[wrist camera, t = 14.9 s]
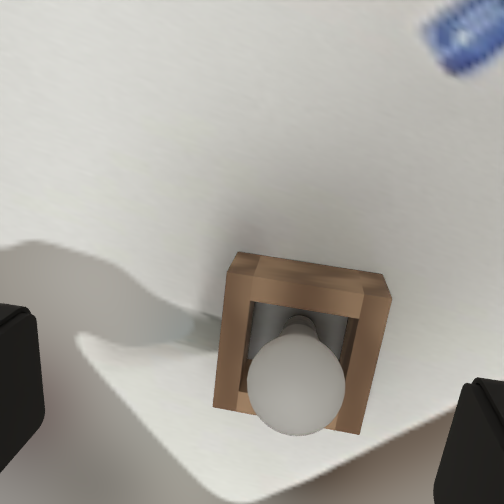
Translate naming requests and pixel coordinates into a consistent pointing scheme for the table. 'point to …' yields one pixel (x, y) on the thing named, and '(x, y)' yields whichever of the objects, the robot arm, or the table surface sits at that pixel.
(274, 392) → the lightbulb
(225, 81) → the table surface
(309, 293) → the socket block
